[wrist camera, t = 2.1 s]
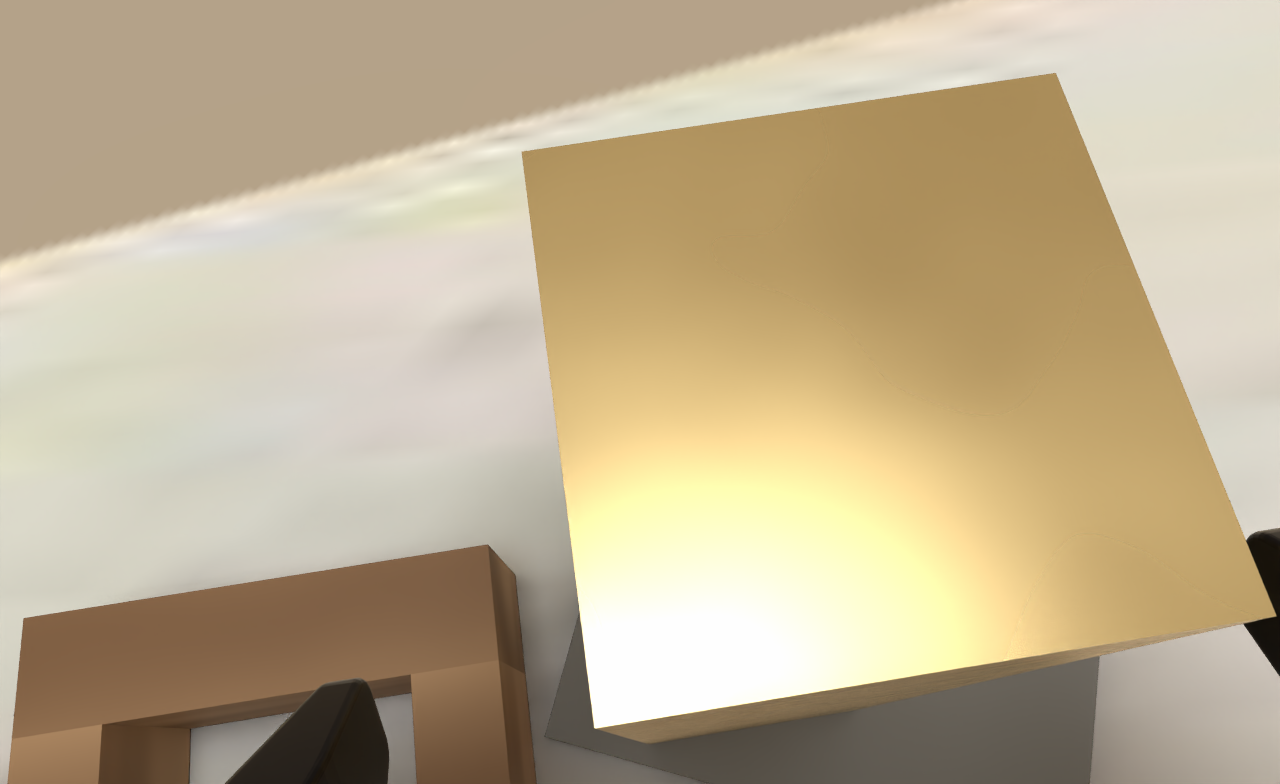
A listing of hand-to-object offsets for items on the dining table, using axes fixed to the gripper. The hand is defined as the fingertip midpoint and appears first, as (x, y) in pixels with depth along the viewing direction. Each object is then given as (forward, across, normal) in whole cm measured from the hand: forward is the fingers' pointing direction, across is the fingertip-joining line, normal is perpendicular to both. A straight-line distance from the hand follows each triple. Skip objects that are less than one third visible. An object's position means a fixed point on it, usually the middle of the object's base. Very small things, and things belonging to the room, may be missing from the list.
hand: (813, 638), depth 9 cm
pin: (+7, 0, +6) cm, 9 cm away
